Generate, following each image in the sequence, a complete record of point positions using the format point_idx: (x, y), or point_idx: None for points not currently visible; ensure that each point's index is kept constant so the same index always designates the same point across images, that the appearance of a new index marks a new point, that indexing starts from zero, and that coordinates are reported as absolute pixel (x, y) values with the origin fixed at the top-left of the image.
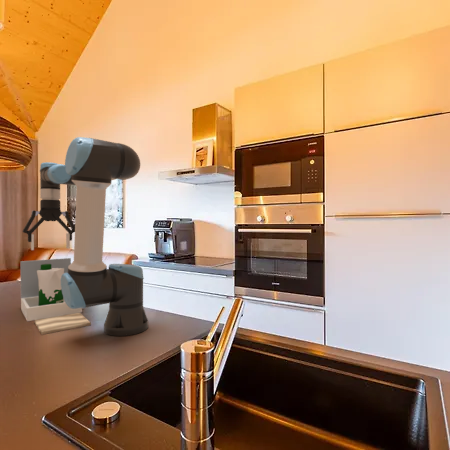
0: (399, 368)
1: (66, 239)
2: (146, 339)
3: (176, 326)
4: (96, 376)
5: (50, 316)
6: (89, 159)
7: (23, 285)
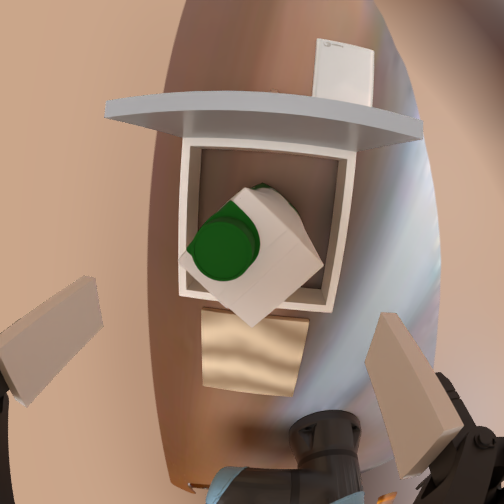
0: None
1: (409, 376)
2: None
3: (375, 448)
4: None
5: None
6: None
7: (173, 132)
